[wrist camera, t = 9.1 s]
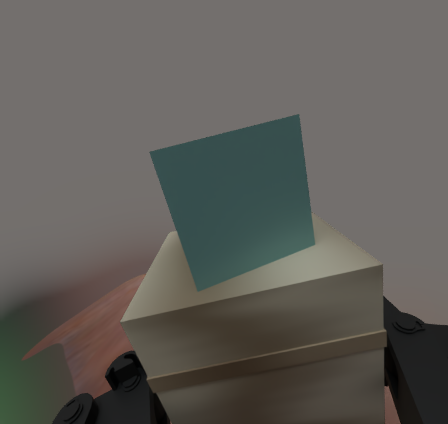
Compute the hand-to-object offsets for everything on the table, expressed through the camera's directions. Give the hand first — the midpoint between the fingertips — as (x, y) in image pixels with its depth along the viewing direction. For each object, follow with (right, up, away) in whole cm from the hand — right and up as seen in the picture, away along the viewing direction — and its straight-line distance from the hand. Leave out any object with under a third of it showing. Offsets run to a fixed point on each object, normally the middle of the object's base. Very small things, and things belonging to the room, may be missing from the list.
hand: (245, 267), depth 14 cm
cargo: (-1, +3, -6) cm, 7 cm away
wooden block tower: (+2, -8, -2) cm, 9 cm away
